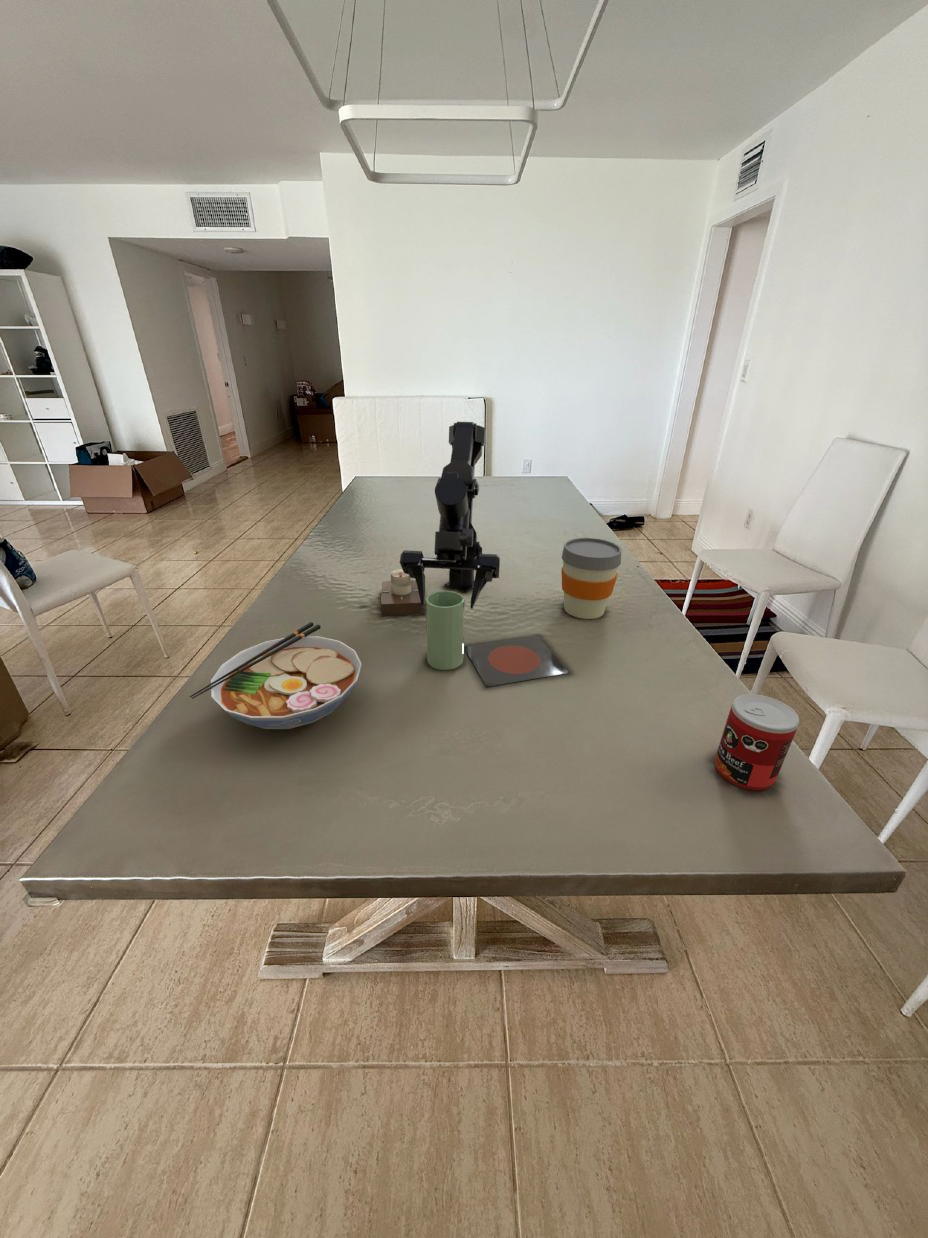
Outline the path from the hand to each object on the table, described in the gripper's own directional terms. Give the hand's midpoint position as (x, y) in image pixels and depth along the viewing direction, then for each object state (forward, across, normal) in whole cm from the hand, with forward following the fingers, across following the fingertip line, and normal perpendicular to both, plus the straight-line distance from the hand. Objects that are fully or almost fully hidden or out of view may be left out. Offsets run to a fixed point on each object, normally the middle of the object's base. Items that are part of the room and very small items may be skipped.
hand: (447, 606), depth 97 cm
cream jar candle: (-9, -13, +19) cm, 24 cm away
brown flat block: (-7, -13, +21) cm, 25 cm away
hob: (+8, +13, +6) cm, 16 cm away
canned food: (+27, +46, -12) cm, 54 cm away
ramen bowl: (+22, -23, -7) cm, 32 cm away
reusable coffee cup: (-8, +29, +22) cm, 37 cm away
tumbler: (+9, 0, +5) cm, 10 cm away
